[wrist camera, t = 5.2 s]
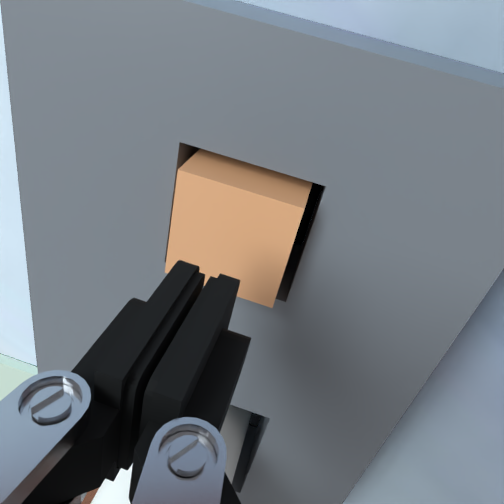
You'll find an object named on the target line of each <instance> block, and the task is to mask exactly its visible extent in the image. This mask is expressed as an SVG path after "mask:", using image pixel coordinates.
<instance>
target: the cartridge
mask: <svg viewBox="0 0 504 504" xmlns="http://www.w3.org/2000/svg"><path fill="white" fill-rule="evenodd" d="M251 414H252V412H250V411H247V410H245V409H242V408H239V407H236V406H233V405H229V408H228V411H227V414H226V417H225V420H224V423H223V425H222V428H221V431H220V434H221V435H222V437H223V439H224V442H225V445H226V453H227V459H226V466H225V473H226V475H227V477H228V479H229V481H230V482H231V484H232V481H233V477H234V474H235V470H236V467H237V463H238V460H239V456H240V453H241V449H242V446H243V442H244V439H245V435H246V431H247V428H248V424H249V421H250V417H251ZM132 465H133V463H132ZM132 465H131V467H130V468H129V470H125V469H122V468H121V469H120V471H119V473H118V474H117V476H116V478H115V480H114V482H113V481H110V480H108V479H105V480H104V481H103V483H102V485H101V487H100V488H99V490H98V491H97V493H96V495H95V497H94V499H93V501H92V502H91V504H131V503H130V500H129V489H130V481H131V473H132Z"/></svg>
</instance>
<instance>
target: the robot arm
mask: <svg viewBox="0 0 504 504" xmlns="http://www.w3.org/2000/svg"><path fill="white" fill-rule="evenodd" d="M199 270H200V267H199V266H197V265H194V264H191V263H188V262H185V261H182V260H178V261H177V262H176V263H175V265H174V266H173V267H172V269H171V270H170V271H169V273H168V274H167V275H166V277H165V278H164V279H163V281H162V282H161V283H160V285H159V286H158V287H157V289H156V290H155V291H154V293H153V294H152V295H151V297H150V298H149V299H148V301H147V302H146V301H143V300H140V299H137V298H132V299H130V300H129V301H128V302H127V304H126V305H125V306H124V307H123V309H122V310H121V311H120V312H119V313H118V315H117V316H116V317H115V318H114V320H113V321H112V322H111V323H110V324H109V326H108V327H107V328H106V329H105V331H104V332H103V333H102V334H101V335H100V337H99V338H98V339H97V340H96V342H95V343H94V344H93V345H92V346H91V348H90V349H89V350H88V351H87V353H86V354H85V355H84V356H83V357H82V359H81V360H80V361H79V362H78V364H77V365H76V366H75V367H74V369H73V370H72V371H71V372H69V371H63V370H52V371H46V372H42V373H39V374H37V375H34V376H32V377H30V378H29V379H27V380H26V381H24V382H23V383H21V384H20V385H19V386H18V387H16V388H15V389H14V390H13V391H12V392H10V393H9V394H8V395H7V396H6V397H5V398H3V399H2V400H1V401H0V504H81V502H82V501H83V499H84V497H85V495H86V494H87V492H89V491H91V490H94V489H96V488H98V487H101V485H102V483H103V481H104V480H105V479H108V480H110V481H113V482H114V480H115V478H116V476H117V474H118V473H119V471H120V469H121V468H122V469H125V470H129V468H130V467H131V465H132V463H133V465H132V473H131V481H130V489H129V500H130V503H131V504H241V502H240V500H239V498H238V496H237V494H236V492H235V490H234V488H233V486H232V484H231V482H230V481H229V479H228V477H227V475H226V473H225V466H226V459H227V453H226V445H225V442H224V439H223V437H222V435H221V434H220V431H221V428H222V425H223V423H224V420H225V417H226V414H227V411H228V408H229V405H230V403H231V400H232V397H233V394H234V391H235V388H236V385H237V383H238V380H239V377H240V374H241V371H242V367H243V364H244V361H245V358H246V355H247V352H248V348H249V345H250V342H251V337H248V336H245V335H242V334H239V333H236V332H233V331H230V330H228V327H229V323H230V319H231V316H232V312H233V308H234V304H235V300H236V296H237V293H238V289H239V285H240V280H239V279H236V278H233V277H230V276H227V275H224V274H221V273H220V274H219V276H218V277H217V278H215V277H212V276H210V278H209V279H208V281H207V283H206V284H205V286H204V288H203V285H204V281H205V274H203V273H200V272H199Z"/></svg>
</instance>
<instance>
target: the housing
mask: <svg viewBox="0 0 504 504" xmlns="http://www.w3.org/2000/svg"><path fill="white" fill-rule="evenodd" d="M0 3H1V13H2V23H3V33H4V43H5V53H6V63H7V73H8V82H9V92H10V102H11V112H12V122H13V132H14V142H15V152H16V162H17V172H18V181H19V191H20V201H21V211H22V221H23V231H24V241H25V251H26V261H27V270H28V280H29V290H30V300H31V310H32V320H33V330H34V340H35V350H36V359H37V369H38V374H39V373H42V372H46V371H52V370H63V371H69V372H71V371H72V370H73V369H74V367H75V366H76V365H77V364H78V362H79V361H80V360H81V359H82V357H83V356H84V355H85V354H86V353H87V351H88V350H89V349H90V348H91V346H92V345H93V344H94V343H95V342H96V340H97V339H98V338H99V337H100V335H101V334H102V333H103V332H104V331H105V329H106V328H107V327H108V326H109V324H110V323H111V322H112V321H113V320H114V318H115V317H116V316H117V315H118V313H119V312H120V311H121V310H122V309H123V307H124V306H125V305H126V304H127V302H128V301H129V300H130V299H132V298H137V299H140V300H143V301H146V302H147V301H148V299H149V298H150V297H151V295H152V294H153V293H154V291H155V290H156V289H157V287H158V286H159V285H160V283H161V282H162V281H163V279H164V278H165V277H166V275H167V274H168V273H165V266H166V258H167V250H168V243H169V235H170V227H171V219H172V211H173V203H174V195H175V188H176V180H177V172H178V169H179V168H180V167H181V166H182V165H183V164H184V163H185V162H186V161H188V160H189V159H190V158H191V157H192V156H193V155H194V154H195V153H196V152H197V151H198V150H199V149H204V150H208V151H211V152H214V153H218V154H221V155H224V156H227V157H231V158H234V159H237V160H241V161H244V162H247V163H250V164H254V165H257V166H260V167H264V168H267V169H270V170H274V171H277V172H280V173H283V174H287V175H290V176H293V177H297V178H300V179H303V180H306V181H310V182H313V183H316V184H320V185H322V187H321V190H320V193H319V196H318V199H317V202H316V205H315V207H314V210H313V213H312V216H311V219H310V222H309V225H308V228H307V231H306V234H305V237H304V240H303V243H302V246H299V245H296V244H293V246H292V249H291V252H290V255H289V258H288V261H287V265H286V268H285V271H284V274H283V277H282V280H281V283H280V286H279V289H278V292H277V295H276V298H275V301H274V304H273V308H270V307H267V306H264V305H261V304H258V303H255V302H252V301H249V300H246V299H243V298H240V297H237V296H236V300H235V304H234V308H233V312H232V316H231V319H230V323H229V327H228V330H230V331H233V332H236V333H239V334H242V335H245V336H248V337H251V342H250V345H249V348H248V352H247V355H246V358H245V361H244V364H243V367H242V371H241V374H240V377H239V380H238V383H237V385H236V388H235V391H234V394H233V397H232V400H231V403H230V405H233V406H236V407H239V408H242V409H245V410H247V411H250V412H253V413H256V414H259V415H262V417H261V420H260V422H259V425H258V427H257V428H256V427H253V426H250V425H248V428H247V431H246V435H245V439H244V442H243V446H242V449H241V453H240V456H239V460H238V463H237V467H236V470H235V474H234V477H233V481H232V486H233V488H234V490H235V492H236V494H237V496H238V498H239V500H240V502H241V504H342V503H343V502H344V500H345V499H346V497H347V496H348V494H349V493H350V492H351V490H352V489H353V487H354V486H355V484H356V483H357V481H358V480H359V478H360V477H361V476H362V474H363V473H364V471H365V470H366V468H367V467H368V465H369V464H370V462H371V461H372V460H373V458H374V457H375V455H376V454H377V452H378V451H379V449H380V448H381V446H382V445H383V444H384V442H385V441H386V439H387V438H388V436H389V435H390V433H391V432H392V430H393V429H394V428H395V426H396V425H397V423H398V422H399V420H400V419H401V417H402V416H403V414H404V413H405V412H406V410H407V409H408V407H409V406H410V404H411V403H412V401H413V400H414V398H415V397H416V396H417V394H418V393H419V391H420V390H421V388H422V387H423V385H424V384H425V382H426V381H427V380H428V378H429V377H430V375H431V374H432V372H433V371H434V369H435V368H436V366H437V365H438V364H439V362H440V361H441V359H442V358H443V356H444V355H445V353H446V352H447V350H448V349H449V348H450V346H451V345H452V343H453V342H454V340H455V339H456V337H457V336H458V334H459V333H460V332H461V330H462V329H463V327H464V326H465V324H466V323H467V321H468V320H469V318H470V317H471V316H472V314H473V313H474V311H475V310H476V308H477V307H478V305H479V304H480V302H481V301H482V300H483V298H484V297H485V295H486V294H487V292H488V291H489V289H490V288H491V286H492V285H493V284H494V282H495V281H496V279H497V278H498V276H499V275H500V273H501V272H502V270H503V269H504V73H500V72H497V71H493V70H489V69H485V68H482V67H478V66H474V65H471V64H467V63H463V62H460V61H456V60H452V59H449V58H445V57H441V56H438V55H434V54H430V53H427V52H423V51H419V50H416V49H412V48H408V47H405V46H401V45H397V44H394V43H390V42H386V41H383V40H379V39H375V38H372V37H368V36H364V35H361V34H357V33H353V32H350V31H346V30H342V29H339V28H335V27H331V26H328V25H324V24H320V23H317V22H313V21H309V20H306V19H302V18H298V17H295V16H291V15H287V14H284V13H280V12H276V11H273V10H269V9H265V8H262V7H258V6H254V5H251V4H247V3H243V2H240V1H236V0H0ZM203 288H204V285H203Z"/></svg>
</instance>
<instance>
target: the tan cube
mask: <svg viewBox="0 0 504 504" xmlns="http://www.w3.org/2000/svg"><path fill="white" fill-rule="evenodd" d="M312 183H313V182H310V181H306V180H303V179H300V178H297V177H293V176H290V175H287V174H283V173H280V172H277V171H274V170H270V169H267V168H264V167H260V166H257V165H254V164H250V163H247V162H244V161H241V160H237V159H234V158H231V157H227V156H224V155H221V154H218V153H214V152H211V151H208V150H204V149H199V150H198V151H197V152H196V153H195V154H194V155H193V156H192V157H191V158H190V159H189V160H188V161H186V162H185V163H184V164H183V165H182V166H181V167H180V168H179V169H178V172H177V180H176V188H175V195H174V203H173V211H172V219H171V227H170V235H169V243H168V250H167V258H166V266H165V273H169V271H170V270H171V269H172V267H173V266H174V265H175V263H176V262H177V261H178V260H182V261H185V262H188V263H191V264H194V265H197V266H199V267H200V270H199V272H200V273H203V274H205V281H204V286H205V284H206V283H207V281H208V279H209V278H210V276H212V277H215V278H217V277H218V276H219V274H220V273H221V274H224V275H227V276H230V277H233V278H236V279H239V280H240V285H239V289H238V293H237V297H240V298H243V299H246V300H249V301H252V302H255V303H258V304H261V305H264V306H267V307H270V308H273V304H274V301H275V298H276V295H277V292H278V289H279V286H280V283H281V280H282V277H283V274H284V271H285V268H286V265H287V261H288V258H289V255H290V252H291V249H292V246H293V243H294V240H295V237H296V234H297V231H298V228H299V225H300V222H301V218H302V215H303V212H304V209H305V206H306V203H307V200H308V196H309V193H310V190H311V186H312Z"/></svg>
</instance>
